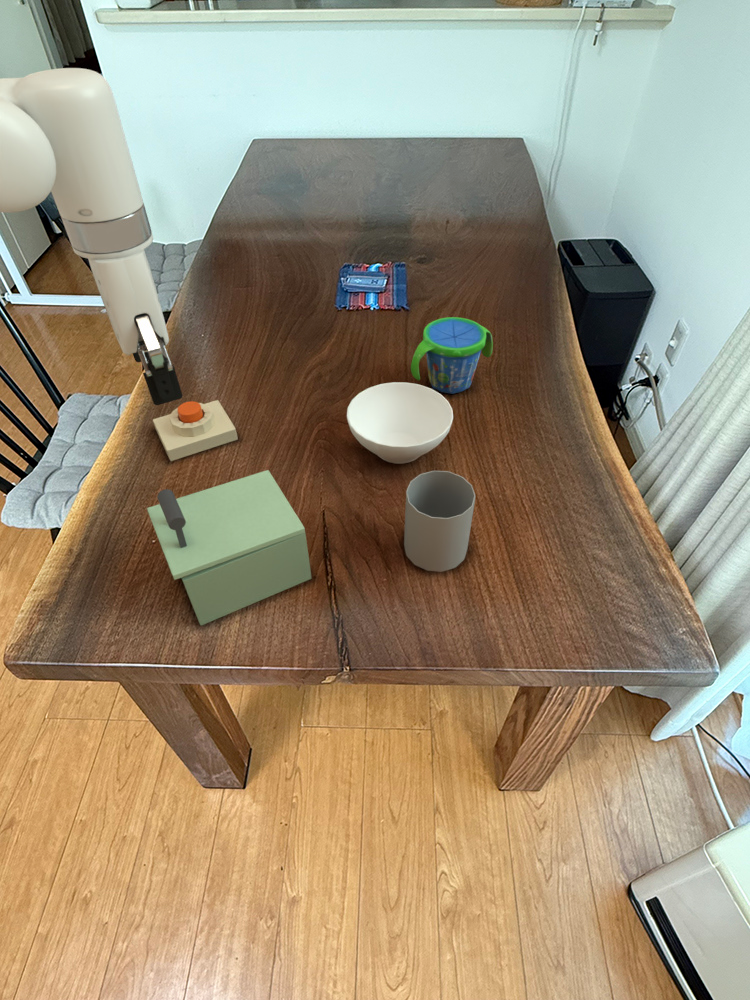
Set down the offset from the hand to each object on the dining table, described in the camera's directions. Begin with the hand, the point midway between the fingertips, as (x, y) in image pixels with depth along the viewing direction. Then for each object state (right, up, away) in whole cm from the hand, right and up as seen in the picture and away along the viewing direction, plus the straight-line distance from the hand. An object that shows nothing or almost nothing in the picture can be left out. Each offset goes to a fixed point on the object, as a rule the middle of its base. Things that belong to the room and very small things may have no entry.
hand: (158, 378), depth 69 cm
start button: (-4, -1, +25) cm, 25 cm away
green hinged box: (+8, -23, +8) cm, 26 cm away
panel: (-4, -4, +28) cm, 28 cm away
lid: (+8, -17, +1) cm, 18 cm away
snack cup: (+39, +7, +37) cm, 54 cm away
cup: (+33, -21, +10) cm, 41 cm away
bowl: (+29, -6, +25) cm, 39 cm away
